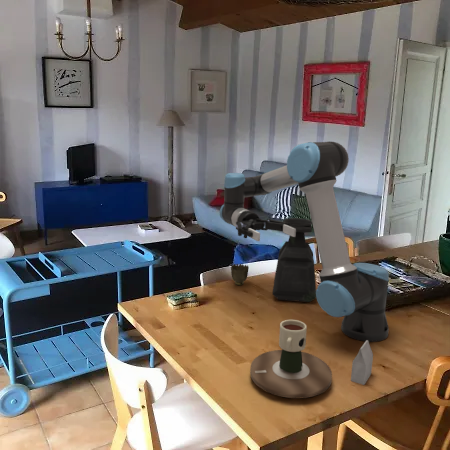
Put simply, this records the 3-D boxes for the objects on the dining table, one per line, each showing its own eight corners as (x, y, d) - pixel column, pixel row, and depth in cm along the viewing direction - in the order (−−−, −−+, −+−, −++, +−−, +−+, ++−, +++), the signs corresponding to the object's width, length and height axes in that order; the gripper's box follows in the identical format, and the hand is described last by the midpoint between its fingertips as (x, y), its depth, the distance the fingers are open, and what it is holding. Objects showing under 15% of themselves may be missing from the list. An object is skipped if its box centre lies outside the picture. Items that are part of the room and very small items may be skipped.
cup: (246, 288, 198) (247, 270, 196) (228, 287, 200) (229, 268, 198) (249, 282, 205) (250, 264, 203) (232, 280, 207) (232, 262, 205)
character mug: (299, 381, 127) (302, 336, 124) (273, 376, 129) (275, 331, 126) (307, 361, 137) (310, 319, 134) (282, 357, 139) (284, 314, 136)
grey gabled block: (371, 373, 138) (374, 341, 135) (364, 385, 132) (367, 351, 130) (358, 370, 139) (361, 338, 137) (350, 380, 134) (353, 347, 131)
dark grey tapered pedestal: (274, 285, 203) (277, 215, 195) (314, 288, 200) (319, 217, 193) (272, 302, 185) (275, 225, 178) (315, 305, 183) (321, 228, 176)
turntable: (313, 351, 146) (314, 346, 146) (345, 393, 125) (345, 387, 125) (242, 357, 142) (242, 352, 141) (262, 402, 121) (262, 396, 120)
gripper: (274, 227, 183) (308, 242, 164) (214, 234, 172) (242, 250, 154) (275, 207, 181) (309, 220, 163) (214, 213, 170) (243, 227, 152)
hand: (277, 235), depth 158 cm, fingers open, 13 cm apart
